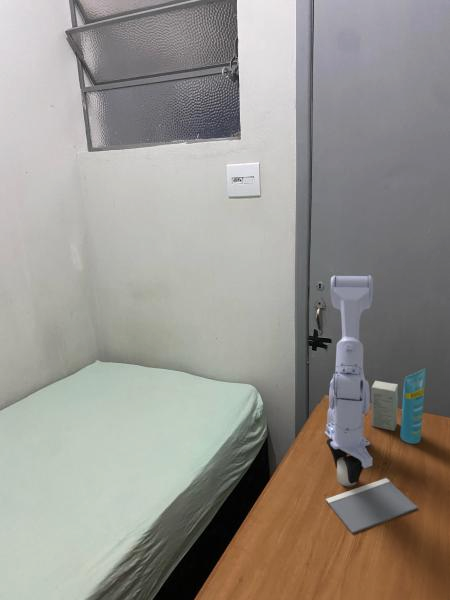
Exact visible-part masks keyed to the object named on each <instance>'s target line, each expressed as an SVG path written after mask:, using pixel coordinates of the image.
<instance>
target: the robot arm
mask: <svg viewBox="0 0 450 600" xmlns="http://www.w3.org/2000/svg"><path fill="white" fill-rule="evenodd" d="M373 293H374V278H373V277H372V275H333V276H331V278H330V299H331V305H332V307H333V308H335V309H337V310H339V312H340V313H341V315H340V316H341V332H342V333H341V339H340V340H339V341H338V342H337V344H336V350H335V351H336V354H335V369H334V370H335V371H334V373H333V375H332V378H331V380H330V383H329V394H328V396H329V397H328V406H329V408H328V409H327V413H326V414H327V415H326V416H327V418H326V419H327V420H326V421H327V423H326V424H325V431H324V434H325V435H326V436H327V437H328V439H327V440H326V445H327V446H328V448H329V450H330V452H331V454H332V459H333V461H334V466H335V469H337V461H338V459H339V458H341V457H343V460H344V461H345V464H346V466H347V471H348V480H349V482H350V483H351V484H352V483H355V482H357V483H358V482H359V480H360V477H361V475H362V472H363V470H364V469H366V468H370V467H372V466H373V460H374V459H373V457H372V456H371V455H370V453H369V452H368V450H367V448H366V447H368V446H370V445H371V442H370V441H369V440H368V439H366V438H365V437H364V418H365V414H368V413H369V412H370V402H371V398H370V397H371V394H370V393H371V392H370V391H371V390H370V384H369V381H368V380H366V378H365V373H364V345H363V343H362V342H361V341H360V319H361V315H362V313H363V311H365V310H368V309H370V308H371V306H372V301H373ZM348 454H349V455H348Z"/></svg>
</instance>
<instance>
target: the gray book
mask: <svg viewBox="0 0 450 600" xmlns="http://www.w3.org/2000/svg"><path fill="white" fill-rule="evenodd" d="M325 502H326V503H327V504H328V506H329V507H330V508H331V509H332V510H333V512H334V513H335V514H336V516H337V517H338V518H339V519H340V520H341V522H342V523H343V525H345V527H346V528H347V529H348V531H349V532H350V533H351V534H356V533H358V532H360V531H362V530H363V531H364V530H365V529H368V528H371V527H375V526H376V525H378V524H381V523H384V522H386V521H389V520H392V519H394V518H397V517H399V516H402V515H404V514H408V513H410V512H412V511H414V510H418V506H417V505H416V504H415V503H414V502H413V501H411V499H410V498H408V497H407V496H406V495H405V494H404V493H403V492H402V491H401V490H400V489H398V488H397V486H395V484H393V483H392V482H391V481H390V479H388V478H387V477H384V478H381V479H379V480H376V481H374V482H369V483H367V484H363V485H361V486H359V487H356V488H353V489H350V490H347V491H344V492H341V493H339V494H335V495H332V496H330V497H327V498H325Z"/></svg>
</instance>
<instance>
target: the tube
mask: <svg viewBox="0 0 450 600" xmlns="http://www.w3.org/2000/svg"><path fill="white" fill-rule="evenodd" d="M425 385H426V368H425V367H424V368H422V369H421V370H419V371H416V372H415V373H412V374H410V375H406V376H405V377H404V382H403V392H402V393H403V394H402V408H401V419H400V433H399V434H400V435H399V437H400V439H401V440H402V441H403V442H404V443H407V444H411V445H412V444H413V445H415V444H418V443H420V442H421V438H422V424H423V422H422V421H423V411H424V401H425V400H424V398H425V387H426V386H425Z"/></svg>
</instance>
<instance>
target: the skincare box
mask: <svg viewBox="0 0 450 600" xmlns="http://www.w3.org/2000/svg"><path fill="white" fill-rule="evenodd" d="M398 400H399V384H398V383H392V382H386V381H379V380H374V382H373V384H372V385H371V418H370V419H371V423H370V424H371V427H374V428H379V429H384V430H389V431H393V432H394V431H396V429H397V427H398V426H397V425H398V410H399V409H398V407H399V406H398V405H399V402H398Z"/></svg>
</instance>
